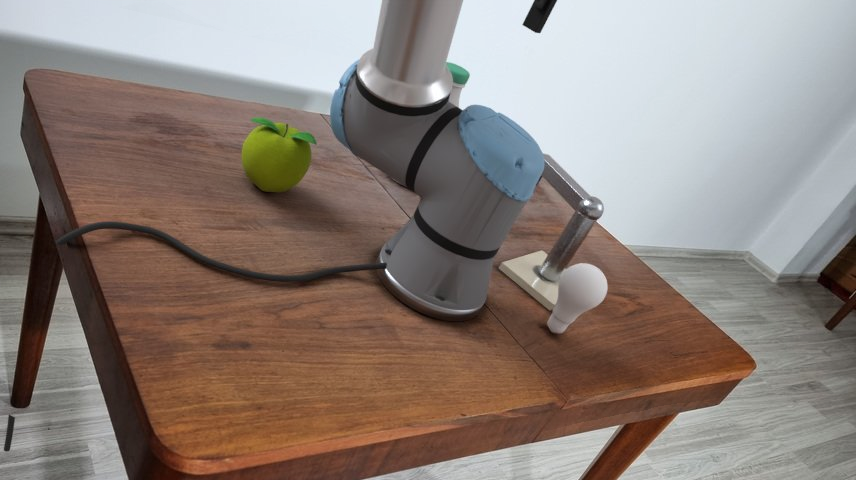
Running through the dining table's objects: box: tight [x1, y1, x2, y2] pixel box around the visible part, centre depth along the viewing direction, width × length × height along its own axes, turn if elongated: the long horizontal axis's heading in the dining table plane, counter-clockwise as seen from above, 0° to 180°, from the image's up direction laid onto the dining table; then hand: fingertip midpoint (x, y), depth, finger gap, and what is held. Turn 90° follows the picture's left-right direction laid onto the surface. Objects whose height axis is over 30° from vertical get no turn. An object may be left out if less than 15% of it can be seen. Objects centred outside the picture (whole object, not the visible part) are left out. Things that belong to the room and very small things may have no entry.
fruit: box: [240, 116, 317, 193], centre depth 97 cm, size 9×9×10 cm
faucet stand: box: [498, 249, 567, 311], centre depth 107 cm, size 12×10×1 cm
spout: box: [535, 153, 605, 281], centre depth 107 cm, size 16×4×14 cm, turn 20°
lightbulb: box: [546, 262, 608, 334], centre depth 94 cm, size 6×6×11 cm
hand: (531, 28), depth 110 cm, fingers closed
